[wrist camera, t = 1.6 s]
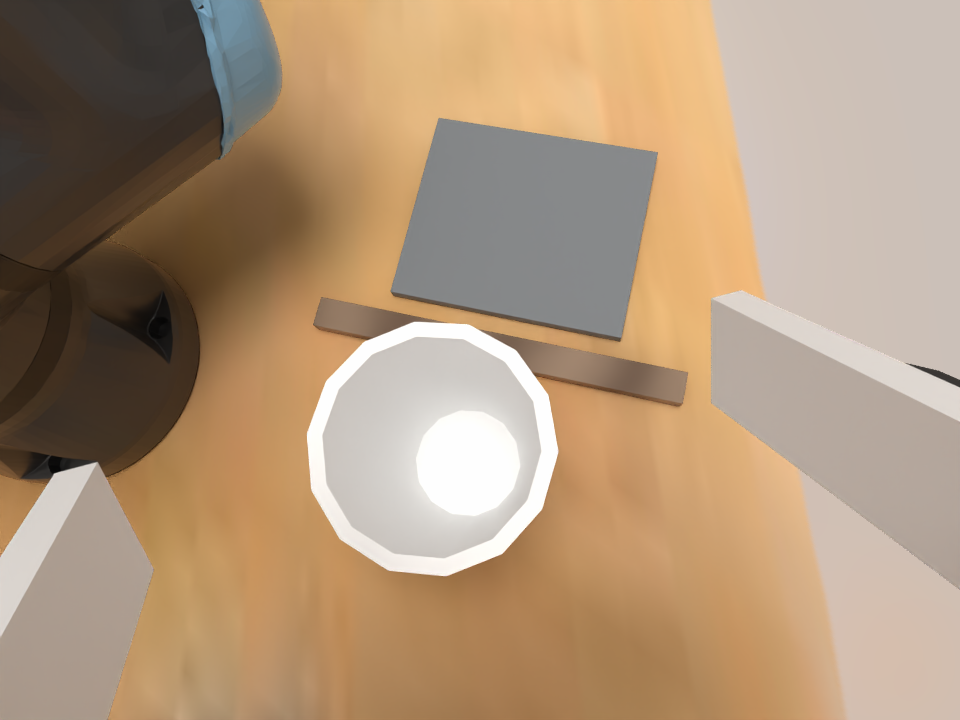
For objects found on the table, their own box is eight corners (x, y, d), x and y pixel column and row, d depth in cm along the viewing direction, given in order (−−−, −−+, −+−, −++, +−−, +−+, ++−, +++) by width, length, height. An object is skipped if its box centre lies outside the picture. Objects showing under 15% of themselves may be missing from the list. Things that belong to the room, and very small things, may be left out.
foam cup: (359, 440, 36) (264, 409, 24) (489, 352, 37) (462, 275, 24) (447, 581, 34) (393, 630, 22) (583, 486, 35) (608, 479, 22)
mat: (393, 295, 38) (390, 291, 37) (440, 125, 40) (438, 117, 40) (619, 341, 36) (621, 337, 35) (655, 159, 38) (657, 152, 38)
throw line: (318, 329, 38) (313, 324, 37) (327, 302, 38) (321, 296, 38) (678, 406, 35) (682, 403, 34) (684, 376, 35) (688, 372, 34)
